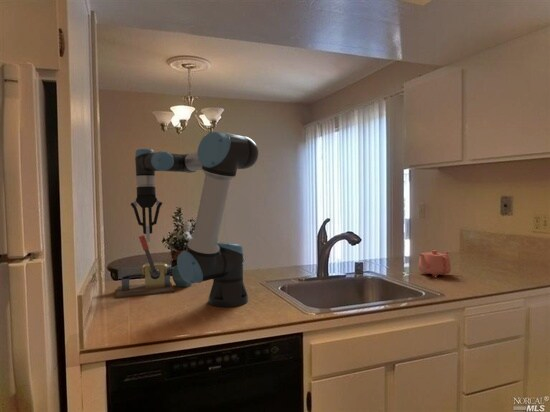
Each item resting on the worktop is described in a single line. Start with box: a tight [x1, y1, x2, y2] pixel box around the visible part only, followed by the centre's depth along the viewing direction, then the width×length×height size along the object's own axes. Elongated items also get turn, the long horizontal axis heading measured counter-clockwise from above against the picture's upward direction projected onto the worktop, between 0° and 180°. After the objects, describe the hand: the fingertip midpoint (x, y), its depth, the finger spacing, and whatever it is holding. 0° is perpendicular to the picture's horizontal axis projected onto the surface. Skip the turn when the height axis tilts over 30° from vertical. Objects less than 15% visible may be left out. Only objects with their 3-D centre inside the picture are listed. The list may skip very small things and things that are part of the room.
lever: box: [138, 234, 160, 279], centre depth 155 cm, size 2×20×4 cm
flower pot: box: [171, 265, 192, 288], centre depth 167 cm, size 9×9×9 cm
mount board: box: [115, 281, 175, 299], centre depth 159 cm, size 16×23×1 cm
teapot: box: [418, 249, 452, 277], centre depth 185 cm, size 15×17×13 cm
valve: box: [117, 261, 172, 291], centre depth 160 cm, size 9×22×10 cm, turn 111°
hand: (148, 241), depth 154 cm, fingers closed
